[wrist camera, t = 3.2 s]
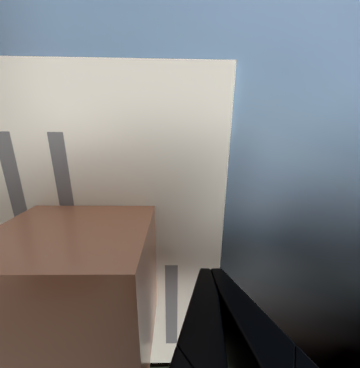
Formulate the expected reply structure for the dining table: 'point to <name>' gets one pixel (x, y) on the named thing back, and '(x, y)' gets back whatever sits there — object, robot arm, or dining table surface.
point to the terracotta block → (78, 287)
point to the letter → (125, 154)
